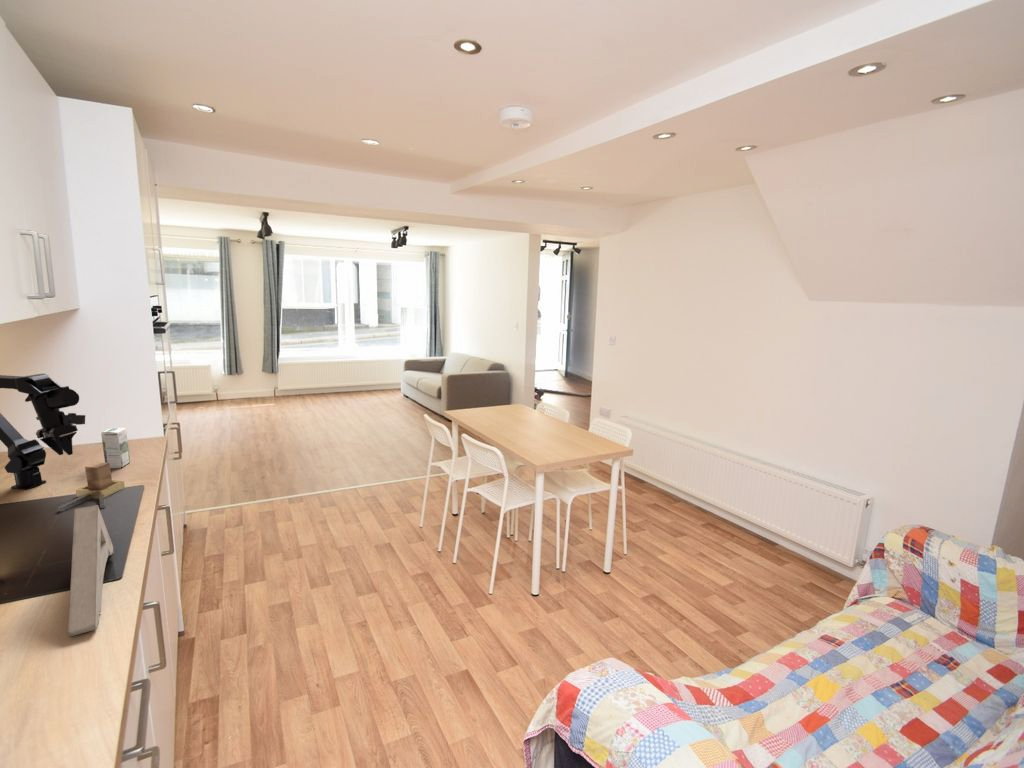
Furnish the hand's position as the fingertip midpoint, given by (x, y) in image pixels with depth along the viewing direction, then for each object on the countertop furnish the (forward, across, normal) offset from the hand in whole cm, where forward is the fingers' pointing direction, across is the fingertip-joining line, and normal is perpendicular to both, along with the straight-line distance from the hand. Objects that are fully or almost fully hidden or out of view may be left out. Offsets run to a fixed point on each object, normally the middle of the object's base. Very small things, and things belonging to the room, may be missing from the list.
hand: (65, 454), depth 169 cm
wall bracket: (+27, -68, +21) cm, 76 cm away
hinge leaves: (+16, -13, 0) cm, 20 cm away
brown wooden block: (+15, -8, -3) cm, 17 cm away
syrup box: (+12, +14, -17) cm, 25 cm away
